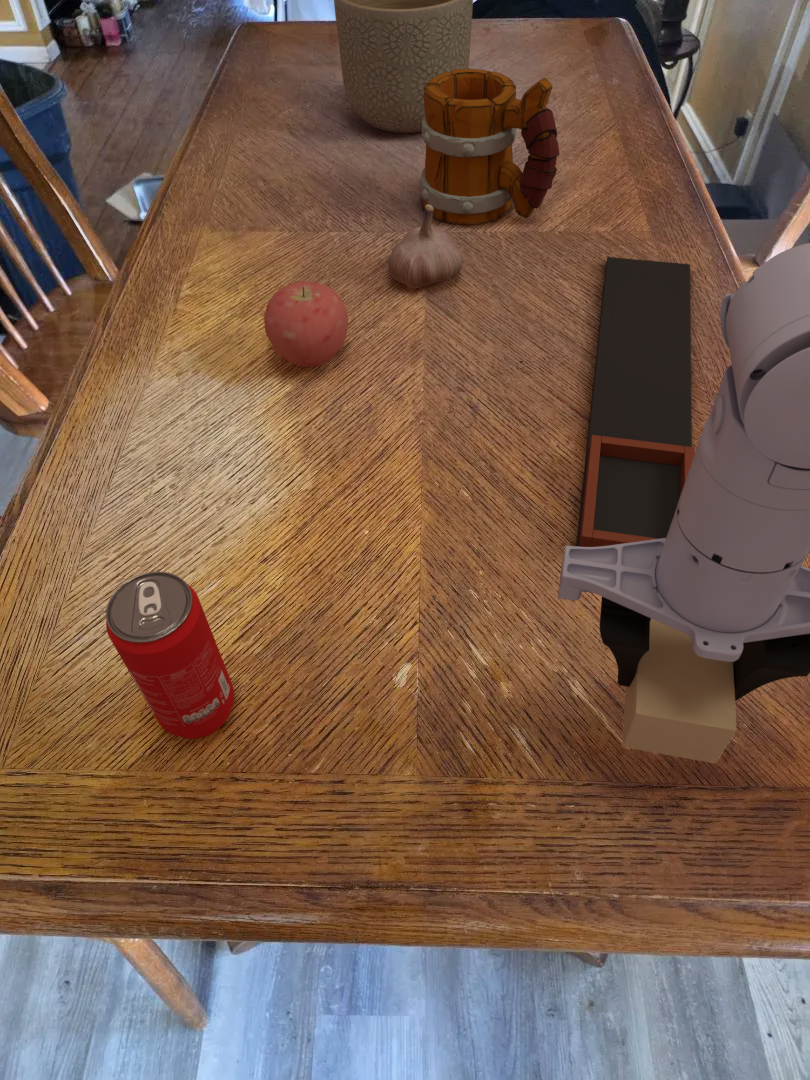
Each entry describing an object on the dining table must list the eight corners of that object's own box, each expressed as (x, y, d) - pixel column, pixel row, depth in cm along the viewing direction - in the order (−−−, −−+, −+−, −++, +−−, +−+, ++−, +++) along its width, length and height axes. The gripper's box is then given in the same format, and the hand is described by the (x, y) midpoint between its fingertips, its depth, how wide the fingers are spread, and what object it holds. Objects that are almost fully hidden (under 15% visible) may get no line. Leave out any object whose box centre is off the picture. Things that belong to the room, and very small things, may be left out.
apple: (366, 359, 77) (360, 285, 71) (304, 394, 74) (292, 319, 68) (319, 324, 80) (309, 251, 74) (258, 356, 77) (242, 283, 71)
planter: (472, 91, 114) (476, -38, 102) (465, 147, 103) (469, 10, 91) (353, 90, 116) (344, -38, 104) (334, 145, 105) (321, 9, 93)
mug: (449, 171, 100) (451, 35, 88) (570, 207, 93) (589, 65, 82) (399, 209, 94) (395, 69, 82) (524, 250, 88) (538, 105, 76)
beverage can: (162, 754, 52) (102, 655, 43) (156, 685, 55) (99, 579, 46) (242, 733, 53) (201, 632, 43) (231, 666, 56) (191, 558, 46)
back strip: (687, 272, 84) (693, 250, 82) (689, 574, 60) (698, 553, 58) (605, 265, 86) (609, 243, 84) (574, 557, 61) (579, 536, 59)
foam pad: (712, 640, 49) (730, 602, 46) (716, 764, 44) (737, 730, 41) (627, 627, 50) (640, 589, 47) (622, 747, 45) (635, 713, 42)
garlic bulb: (472, 267, 86) (475, 195, 80) (444, 305, 82) (444, 231, 76) (408, 252, 88) (406, 180, 82) (377, 287, 84) (373, 214, 78)
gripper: (568, 569, 34) (537, 719, 44) (942, 623, 32) (817, 768, 42) (580, 452, 38) (550, 614, 49) (910, 492, 36) (804, 654, 46)
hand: (673, 679), depth 46 cm, fingers closed on foam pad, 5 cm apart
